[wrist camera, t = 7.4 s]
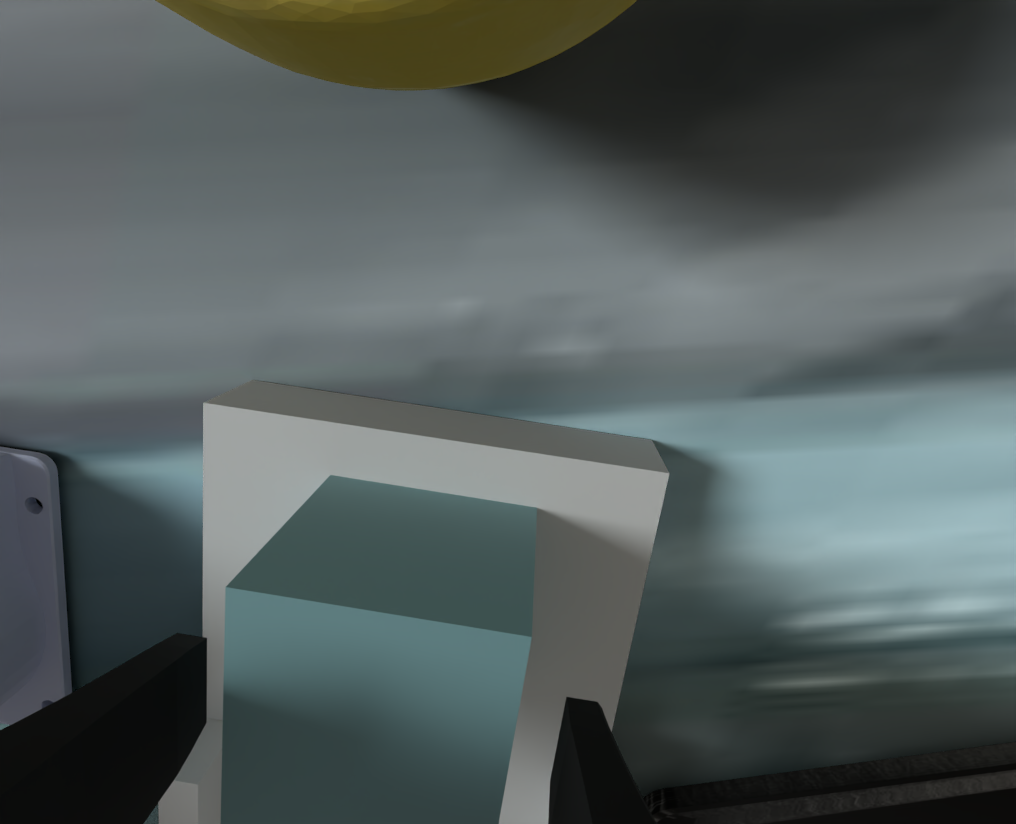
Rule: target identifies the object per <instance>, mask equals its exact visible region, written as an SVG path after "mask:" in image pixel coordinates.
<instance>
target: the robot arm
mask: <svg viewBox="0 0 1016 824" xmlns="http://www.w3.org/2000/svg"><path fill="white" fill-rule="evenodd" d="M36 498H37V499H38V500H39V501H40V502H41V503H42V506H43V507H40V506H39V505H38V503H37V501H36ZM0 723H2V724H9V725H10V726H8V727H6V728H4V729H2V730H0V824H143V823H144V822H145V821H146V819H147V818H148V816H149V815H150V814H151V812H152V811H153V809H154V808H155V806H156V805H157V804H158V802H159V801H160V799H161V798H162V797H163V795H164V794H165V792H166V791H167V789H168V788H169V787H170V785H171V784H172V782H173V781H174V779H175V778H176V776H177V775H178V773H179V772H180V770H181V768H182V766H183V765H184V763H185V761H186V759H187V758H188V756H189V754H190V752H191V751H192V749H193V747H194V745H195V743H196V741H197V739H198V738H199V736H200V734H201V732H202V730H203V728H204V726H205V725H206V723H207V638H204V637H198V636H192V635H186V634H179V633H177V634H175V635H173V636H171V637H169V638H167V639H165V640H164V641H162V642H160V643H158V644H156V645H155V646H153V647H151V648H149V649H148V650H146V651H144V652H142V653H141V654H139V655H137V656H136V657H134V658H132V659H130V660H129V661H127V662H125V663H123V664H122V665H120V666H118V667H117V668H115V669H113V670H111V671H110V672H108V673H106V674H104V675H103V676H101V677H99V678H97V679H95V680H94V681H92V682H90V683H88V684H87V685H85V686H83V687H81V688H80V689H78V690H76V691H74V692H73V693H72V682H71V666H70V651H69V636H68V620H67V605H66V590H65V574H64V559H63V544H62V528H61V513H60V498H59V482H58V470H57V467H56V464H55V463H54V461H53V460H52V459H51V458H50V457H48V456H47V455H45V454H42V453H39V452H32V451H26V450H19V449H13V448H6V447H0ZM548 824H657V823H656V821H655V819H654V818H653V816H652V814H651V812H650V810H649V809H648V807H647V805H646V803H645V801H644V799H643V797H642V795H641V793H640V791H639V789H638V787H637V785H636V783H635V782H634V780H633V778H632V776H631V774H630V772H629V770H628V767H627V765H626V763H625V761H624V759H623V757H622V755H621V752H620V750H619V748H618V746H617V744H616V741H615V739H614V737H613V734H612V732H611V730H610V727H609V725H608V722H607V720H606V717H605V715H604V712H603V709H602V707H601V706H600V704H599V703H598V702H596V701H590V700H584V699H578V698H571V697H566V702H565V707H564V712H563V717H562V722H561V727H560V732H559V737H558V742H557V747H556V753H555V758H554V763H553V768H552V773H551V778H550V794H549V818H548Z"/></svg>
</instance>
